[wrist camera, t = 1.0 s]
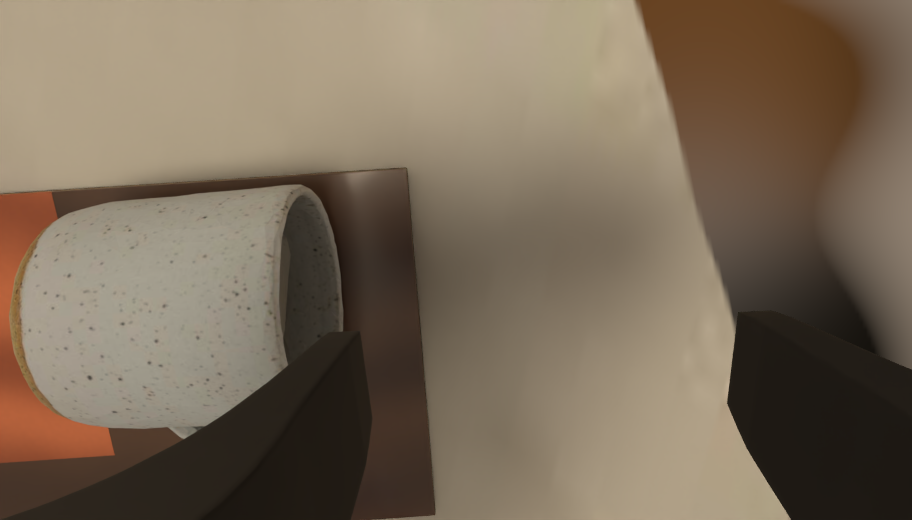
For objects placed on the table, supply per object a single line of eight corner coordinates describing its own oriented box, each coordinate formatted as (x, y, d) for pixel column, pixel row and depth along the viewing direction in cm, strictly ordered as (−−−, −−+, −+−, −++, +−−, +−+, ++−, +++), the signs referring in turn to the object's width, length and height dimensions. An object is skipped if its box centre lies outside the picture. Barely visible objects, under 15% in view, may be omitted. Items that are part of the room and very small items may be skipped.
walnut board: (435, 510, 27) (435, 515, 26) (-140, 550, 27) (-146, 556, 26) (407, 167, 23) (406, 168, 22) (-271, 211, 23) (-280, 212, 22)
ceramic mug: (102, 189, 22) (-64, 244, 15) (326, 167, 22) (269, 211, 15) (169, 441, 25) (58, 590, 18) (365, 422, 25) (335, 564, 18)
